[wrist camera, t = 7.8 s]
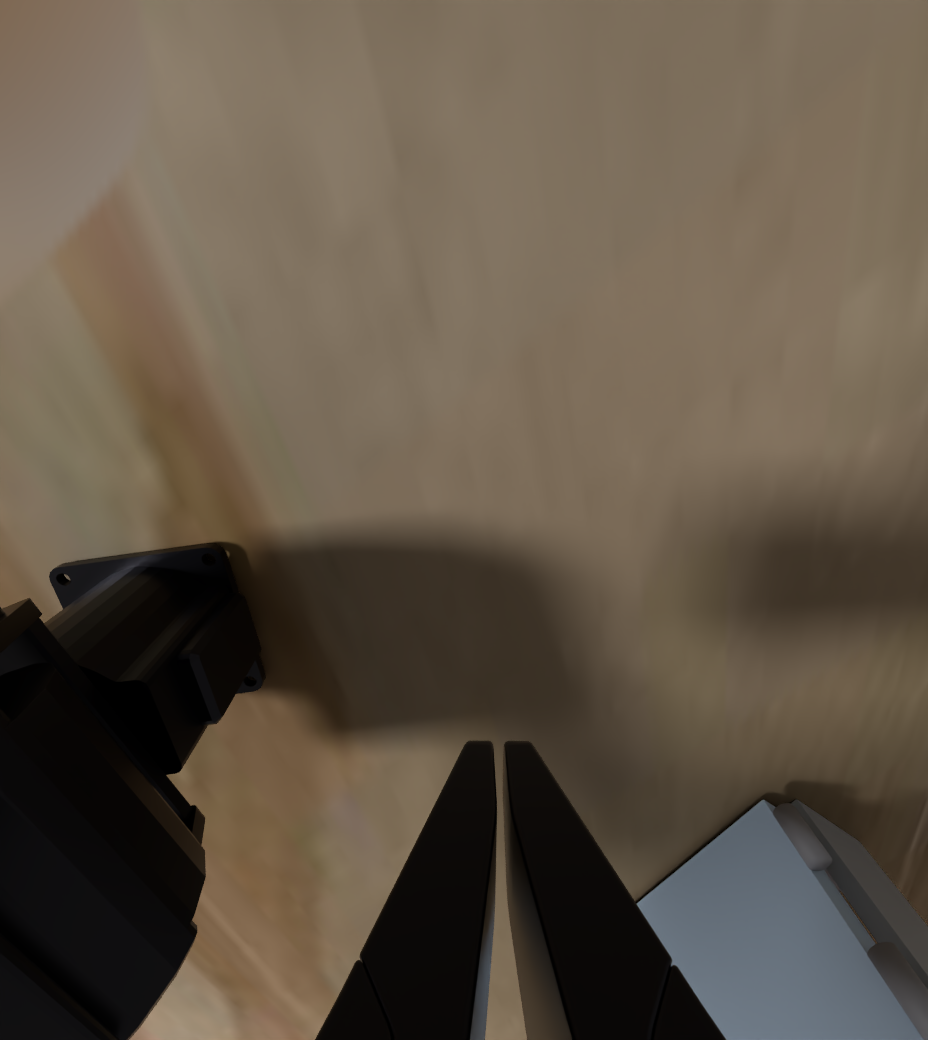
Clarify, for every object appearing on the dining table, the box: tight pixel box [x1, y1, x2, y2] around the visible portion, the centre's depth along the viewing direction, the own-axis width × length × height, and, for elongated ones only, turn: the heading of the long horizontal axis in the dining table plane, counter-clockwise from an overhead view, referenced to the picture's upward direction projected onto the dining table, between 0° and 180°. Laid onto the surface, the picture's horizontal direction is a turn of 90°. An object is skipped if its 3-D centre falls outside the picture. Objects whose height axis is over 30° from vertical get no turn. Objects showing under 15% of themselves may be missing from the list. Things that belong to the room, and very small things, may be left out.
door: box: [637, 799, 928, 1040], centre depth 22 cm, size 3×17×10 cm, turn 144°
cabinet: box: [791, 799, 928, 990], centre depth 23 cm, size 5×17×10 cm, turn 143°
